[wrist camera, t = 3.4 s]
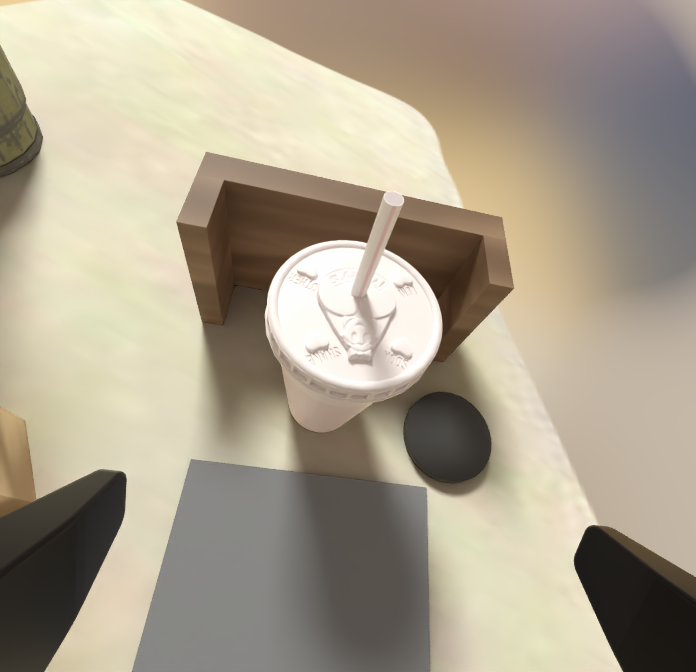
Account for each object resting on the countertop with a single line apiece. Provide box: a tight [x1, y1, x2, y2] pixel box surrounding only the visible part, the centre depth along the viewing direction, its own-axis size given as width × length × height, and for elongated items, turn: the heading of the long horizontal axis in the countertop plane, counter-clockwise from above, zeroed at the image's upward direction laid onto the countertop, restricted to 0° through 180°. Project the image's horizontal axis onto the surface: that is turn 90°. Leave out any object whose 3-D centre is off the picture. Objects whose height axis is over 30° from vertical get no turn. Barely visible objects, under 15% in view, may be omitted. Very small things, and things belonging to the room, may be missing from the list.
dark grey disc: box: [404, 392, 491, 483], centre depth 22 cm, size 5×5×1 cm
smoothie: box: [265, 191, 442, 433], centre depth 16 cm, size 6×6×14 cm
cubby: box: [176, 152, 514, 362], centre depth 21 cm, size 5×15×8 cm, turn 86°
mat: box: [132, 459, 430, 672], centre depth 17 cm, size 9×12×1 cm
